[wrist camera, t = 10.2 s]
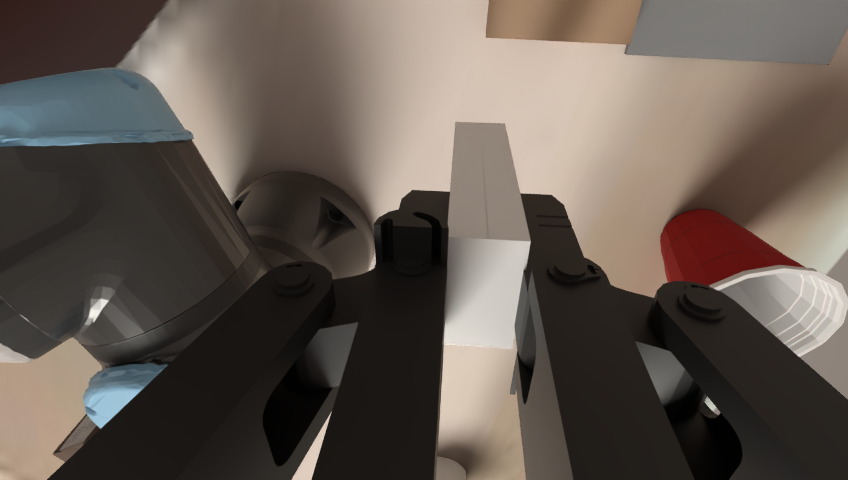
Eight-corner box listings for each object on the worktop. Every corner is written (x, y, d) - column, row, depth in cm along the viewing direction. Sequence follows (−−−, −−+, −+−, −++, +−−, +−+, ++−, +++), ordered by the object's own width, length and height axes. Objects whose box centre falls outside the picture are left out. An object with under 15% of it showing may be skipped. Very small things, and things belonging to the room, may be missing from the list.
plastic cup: (648, 295, 45) (693, 393, 35) (616, 213, 40) (658, 300, 30) (769, 259, 41) (859, 359, 31) (749, 164, 36) (848, 245, 26)
